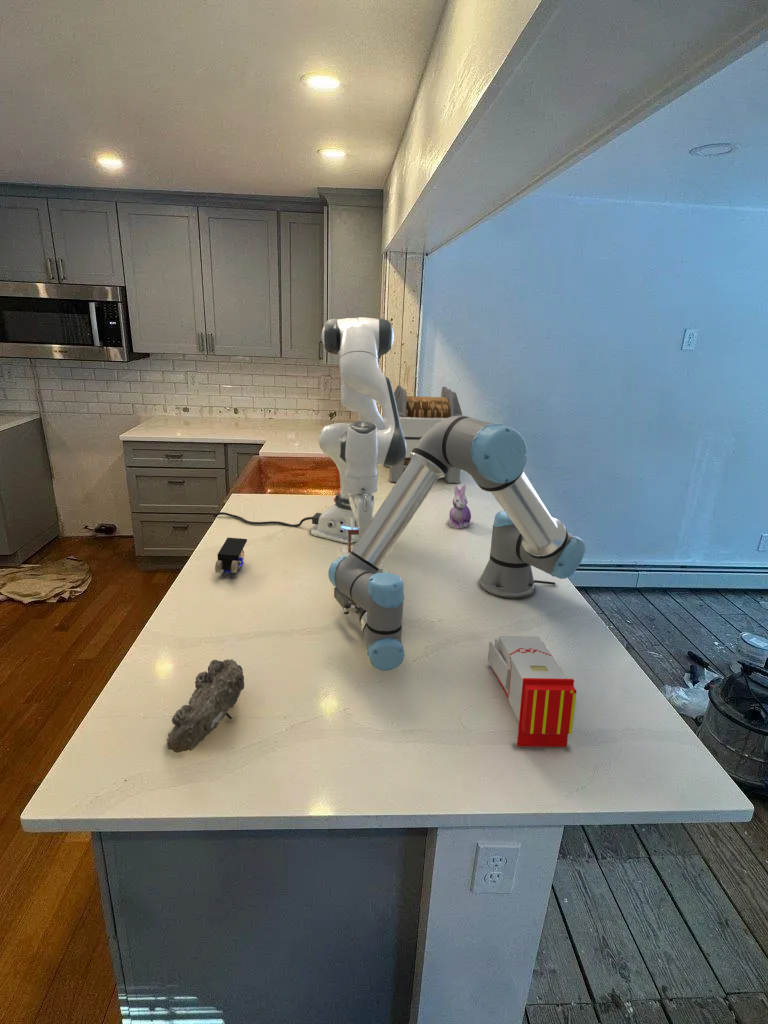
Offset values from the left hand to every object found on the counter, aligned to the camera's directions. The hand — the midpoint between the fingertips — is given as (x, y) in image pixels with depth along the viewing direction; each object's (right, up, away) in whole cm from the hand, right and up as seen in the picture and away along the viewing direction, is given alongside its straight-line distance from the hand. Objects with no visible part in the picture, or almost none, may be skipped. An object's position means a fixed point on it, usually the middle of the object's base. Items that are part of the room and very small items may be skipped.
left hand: (359, 531), depth 156 cm
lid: (0, -8, -1) cm, 8 cm away
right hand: (+1, -12, -4) cm, 13 cm away
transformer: (+24, +24, +119) cm, 124 cm away
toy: (+35, -33, -39) cm, 62 cm away
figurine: (+35, +1, +55) cm, 65 cm away
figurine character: (-38, -12, +11) cm, 41 cm away
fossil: (-26, -34, -48) cm, 64 cm away
